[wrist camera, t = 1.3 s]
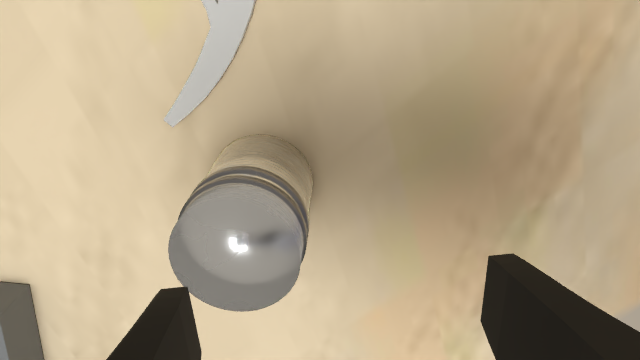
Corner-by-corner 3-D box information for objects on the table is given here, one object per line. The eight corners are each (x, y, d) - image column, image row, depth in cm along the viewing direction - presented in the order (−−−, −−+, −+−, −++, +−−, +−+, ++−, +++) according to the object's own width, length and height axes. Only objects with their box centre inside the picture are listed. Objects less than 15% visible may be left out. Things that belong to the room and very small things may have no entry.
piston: (319, 137, 21) (308, 204, 16) (310, 231, 23) (298, 320, 17) (210, 126, 21) (162, 189, 16) (211, 221, 23) (168, 306, 18)
